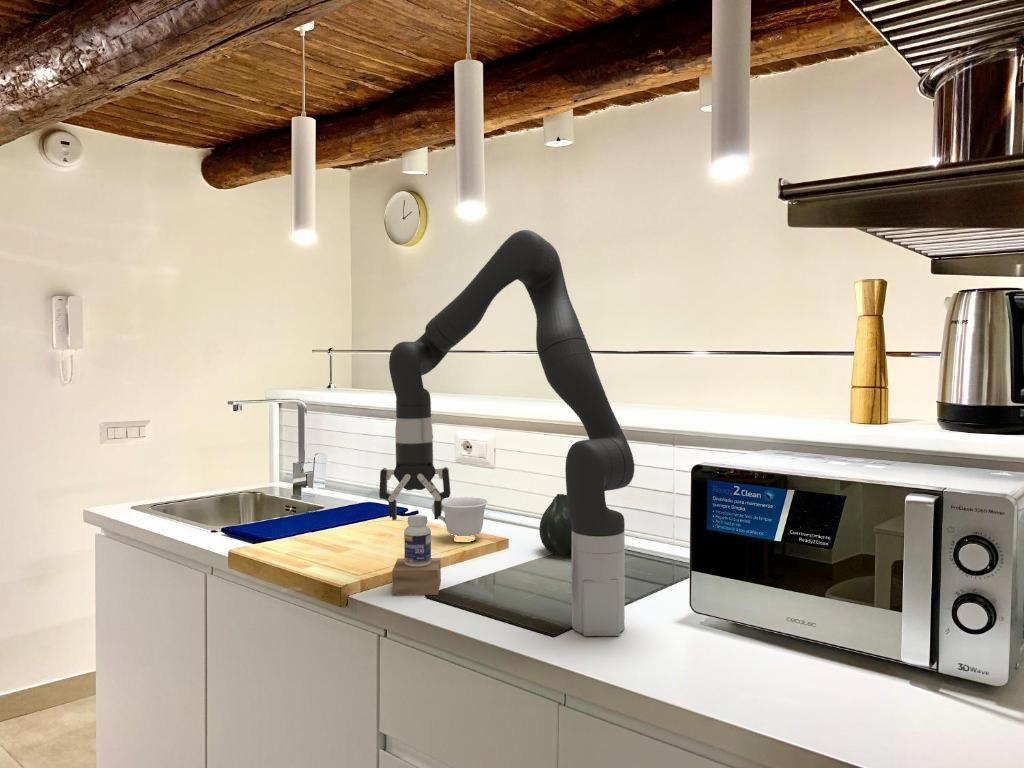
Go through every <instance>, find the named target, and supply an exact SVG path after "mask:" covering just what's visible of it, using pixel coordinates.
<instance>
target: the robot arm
mask: <svg viewBox="0 0 1024 768" xmlns="http://www.w3.org/2000/svg"><path fill="white" fill-rule="evenodd" d="M563 271H564V270H563V266H562V263H561V260H560V256H559V254H558V251H557V250H556V248H555V247H554V246H553V244H551V243H550V242H548V241H547V240H546V239H545V238H544V237H543V236H541V235H540V234H538V233H537V232H535V231H533V230H529V229H523V230H518V231H516V232H514V233H513V234H511V235H510V236H509V237H508V238H507V239H506V240H505V241H504V242H503V243H502V244H501V245H500V246H499V248H497V250H496V251H495V252H494V254H493V255H492V256H491V257H490V258H489V260H488V261H487V262H486V263H485V264H484V265H483V267H482V268H481V269H480V270H479V272H478V273H477V274H476V275H475V276H474V278H473V279H472V280H471V281H470V282H469V284H468V285H467V286H466V287H465V288H464V289H463V290H462V291H461V292H460V293H458V295H457V296H456V297H455V298H454V299H453V300H452V301H451V302H450V303H448V304H447V305H446V306H445V307H444V308H443V309H442V310H440V311H439V312H438V313H437V314H436V315H435V316H434V317H433V318H431V319H430V320H429V321H428V323H427V324H426V325H425V328H424V331H425V332H424V333H423V334H422V335H421V336H420V337H418V338H417V339H416V340H415V341H401V342H398V343H397V344H395V345H394V346H393V348H392V350H391V351H390V354H389V358H388V360H389V361H388V368H389V374H390V378H391V383H392V388H393V392H394V395H395V400H396V401H395V413H396V416H395V418H396V419H395V421H396V422H395V428H394V429H395V431H394V433H395V434H394V435H395V468H394V469H390V468H388V469H387V468H386V467H383V468H382V469H381V470H380V472H379V492H378V493H379V494H378V495H379V499H381V500H385V501H387V502H388V515H389V518H391V519H392V521H396V520H397V518H398V516H397V514H398V511H397V510H398V508H397V507H398V506H397V503H398V502H397V500H396V498H397V497H398V496H399V494H400V493H401V492H402V490H403V489H404V490H406V491H412V490H417V491H423V490H424V489H426V491H427V492H428V493H429V494H430V495H431V496H432V497H433V498H434V501H433V503H434V514H433V516H434V520H438V519H439V518H438V516H442V513H443V510H442V501H443V500H446V499H449V498H450V496H451V483H450V480H451V479H450V469H449V468H448V467H447V466H444V467H442V468H435V466H434V445H433V442H434V441H433V439H434V433H433V424H432V423H433V422H432V405H431V404H432V402H431V400H432V398H431V394H430V391H429V390H427V389H426V388H425V387H424V384H423V383H424V382H423V378H422V377H423V376H424V375H426V374H428V373H430V372H432V371H433V370H434V369H435V368H436V367H437V366H438V365H439V364H440V363H441V362H442V361H443V359H444V358H445V357H446V355H448V353H449V352H450V350H451V349H452V348H454V347H455V346H456V345H458V344H459V343H460V342H461V341H462V340H463V339H465V338H466V337H467V336H468V335H469V334H471V332H473V331H474V330H475V329H476V327H477V326H478V325H479V324H480V322H481V321H482V319H483V318H484V316H485V314H486V312H487V310H488V308H489V307H490V305H491V304H492V302H493V300H495V298H496V296H497V295H498V294H499V293H501V291H503V290H504V289H506V287H508V286H509V285H510V284H512V283H514V282H515V281H517V280H518V281H520V282H521V283H522V284H523V286H524V287H525V290H526V291H527V293H528V295H529V296H528V297H529V298H530V301H531V303H532V305H533V308H534V313H535V316H536V317H535V318H536V329H535V330H536V331H535V332H536V333H535V335H536V336H535V340H536V342H535V343H536V350H537V355H538V357H539V361H540V365H541V366H542V370H543V373H544V375H545V378H546V380H547V382H548V384H549V385H550V387H551V388H552V389H553V391H554V393H556V394H557V395H558V396H559V397H560V398H561V400H562V401H563V402H564V403H565V404H566V405H567V406H568V407H569V408H570V409H571V410H572V411H573V412H574V414H575V415H576V416H577V417H578V418H579V420H580V422H581V424H582V425H583V427H584V430H585V432H586V435H587V437H588V439H582V440H578V441H575V442H574V443H573V444H572V445H571V446H570V447H569V449H568V451H567V455H566V458H565V471H564V472H565V486H566V495H567V508H568V513H569V516H570V519H571V525H572V554H571V627H572V629H573V630H575V632H577V633H580V634H582V635H583V637H610V636H611V637H614V636H615V637H617V636H620V634H621V632H623V631H624V630H625V627H626V626H625V624H626V623H625V617H626V616H625V615H626V614H625V613H626V612H625V608H626V607H625V545H626V543H625V539H626V538H625V536H626V535H625V530H626V529H625V525H626V524H625V517H624V515H623V514H622V513H621V512H620V511H617V510H615V509H610V508H609V507H608V506H607V502H606V492H607V491H615V490H619V489H623V488H625V487H628V486H629V484H630V483H631V482H632V480H634V479H633V478H634V475H635V460H634V455H633V452H632V450H631V449H632V448H631V447H630V445H629V442H628V439H627V438H626V436H625V434H624V431H623V430H622V428H621V425H620V424H619V421H618V419H617V418H616V415H615V413H614V411H613V409H612V406H611V404H610V402H609V399H608V397H607V395H606V391H605V389H604V387H603V384H602V381H601V379H600V376H599V374H598V371H597V368H596V364H595V362H594V358H593V355H592V353H591V349H590V347H589V344H588V340H587V339H586V336H585V334H584V331H583V329H582V327H581V323H580V321H579V319H578V316H577V313H576V311H575V309H574V306H573V304H572V301H571V299H570V296H569V292H568V289H567V283H566V281H565V275H564V272H563ZM436 475H437V476H438V478H439V479H440V480H442V485H443V486H442V488H443V491H441V492H440V491H439V490H438V488H437V487H436V485H435V484H434V482H433V481H432V480H433V479H434V477H435V476H436ZM392 476H394V477H395V479H396V480H397V482H398V484H397V485H396V486H395V488H394V489H393V490H392V492H391V493H390V492H388V481H389V480H390V479H391V478H392Z"/></svg>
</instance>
